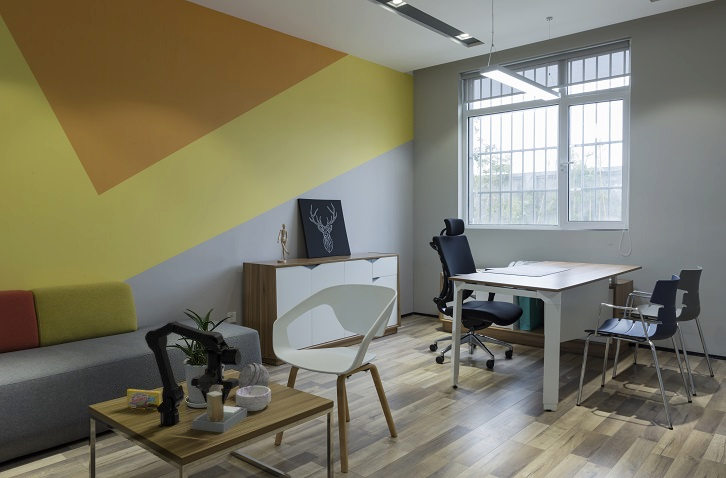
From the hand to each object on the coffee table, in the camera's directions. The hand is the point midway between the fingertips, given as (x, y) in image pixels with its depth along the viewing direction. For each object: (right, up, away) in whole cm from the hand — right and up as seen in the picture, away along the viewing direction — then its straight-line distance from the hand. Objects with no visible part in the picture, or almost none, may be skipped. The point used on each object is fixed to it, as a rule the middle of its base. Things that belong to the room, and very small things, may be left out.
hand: (215, 403), depth 211 cm
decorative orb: (+7, -9, +40) cm, 42 cm away
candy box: (-38, -10, +23) cm, 45 cm away
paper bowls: (+11, -9, +22) cm, 26 cm away
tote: (+1, -9, +4) cm, 10 cm away
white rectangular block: (+3, -9, +8) cm, 12 cm away
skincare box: (0, -8, 0) cm, 8 cm away
